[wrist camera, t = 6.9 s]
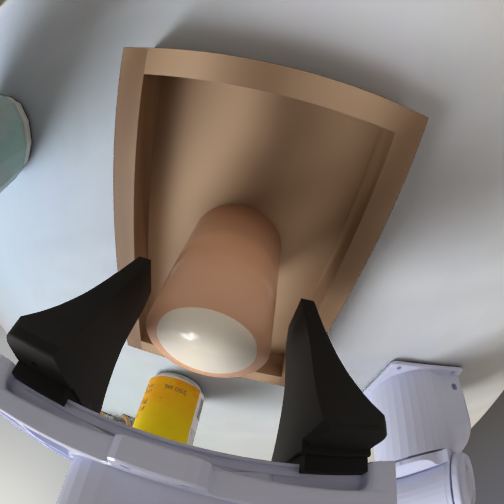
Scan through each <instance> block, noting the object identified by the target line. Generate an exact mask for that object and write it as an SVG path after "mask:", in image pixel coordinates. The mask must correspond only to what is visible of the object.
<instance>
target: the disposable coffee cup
mask: <svg viewBox="0 0 504 504" xmlns="http://www.w3.org/2000/svg"><path fill="white" fill-rule="evenodd" d="M31 143H32V141H31V134H30V127H29V120H28V118H27V116H26V114H25V112H24V110H23V108H22V106H21V104H20V103H19V102H17V101H16V100H14V99H13V98H11V97H9V96H8V97H5V96H3V95H0V192H1V191H2V190H4V189H5V188H6V187H7V186H8V185H9V184H10V183H11V182H12V181H13V180H14V179H15V178H16V177H17V175H18V174H19V173H20V172H21V170H22V169H23V168H24V165H25V164H26V163H27V162H28V160H29V154H30V148H31Z"/></svg>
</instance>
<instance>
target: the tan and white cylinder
mask: <svg viewBox="0 0 504 504" xmlns="http://www.w3.org/2000/svg"><path fill="white" fill-rule="evenodd" d="M280 255H281V239H280V236H279V233H278V231H277V229H276V227H275V226H274V224H273V223H272V222H271V221H270V220H269V218H267V217H266V216H265V215H264V214H262V213H261V212H259V211H257V210H255V209H253V208H250V207H247V206H243V205H236V204H228V205H222V206H218V207H216V208H213V209H211V210H210V211H208V212H207V213H205V214H204V215H203V216H202V217H201V218H200V220H199V221H198V223H197V224H196V226H195V228H194V230H193V231H192V233H191V235H190V237H189V239H188V240H187V242H186V244H185V246H184V247H183V249H182V251H181V253H180V255H179V256H178V258H177V260H176V262H175V264H174V266H173V267H172V269H171V271H170V273H169V275H168V277H167V279H166V280H165V282H164V284H163V286H162V288H161V290H160V292H159V294H158V296H157V298H156V300H155V301H154V303H153V305H152V307H151V309H150V311H149V313H148V315H147V319H146V330H147V333H148V336H149V338H150V340H151V341H152V343H153V344H154V346H155V347H156V348H157V349H158V350H159V351H160V352H161V353H162V354H163V355H164V356H165V357H166V358H168V359H169V360H171V361H172V362H173V363H175V364H177V365H179V366H181V367H183V368H185V369H187V370H189V371H192V372H195V373H198V374H202V375H206V376H211V377H219V378H232V377H240V376H244V375H248V374H251V373H253V372H255V371H257V370H258V369H260V368H261V367H262V366H263V365H264V364H265V363H266V362H267V360H268V358H269V356H270V351H271V342H272V333H273V324H274V315H275V306H276V296H277V286H278V276H279V266H280Z"/></svg>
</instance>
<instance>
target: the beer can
mask: <svg viewBox="0 0 504 504" xmlns="http://www.w3.org/2000/svg"><path fill="white" fill-rule="evenodd" d="M203 402H204V395H203V393H202V392H201V388H200V386H199V385H198V384H197V383H196V382H194V381H193V380H191V379H189V378H187V377H185V376H183V375H180V374H176V373H170V372H164V373H160V374H158V375H157V376H155V377H153V378H151V379H150V381H149V384H148V387H147V389H146V392H145V394H144V397H143V400H142V402H141V405H140V408H139V410H138V413H137V416H136V418H135V421H134V424H133V427H134V428H137V429H140V430H142V431H145V432H148V433H151V434H154V435H157V436H160V437H164V438H167V439H170V440H173V441H177V442H180V443H184V444H188V445H191V446H192V445H193V441H194V437H195V433H196V429H197V425H198V421H199V417H200V413H201V410H202V406H203Z"/></svg>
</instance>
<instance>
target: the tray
mask: <svg viewBox="0 0 504 504" xmlns="http://www.w3.org/2000/svg"><path fill="white" fill-rule="evenodd" d="M427 121H428V117H426V116H423V115H421V114H419V113H417V112H415V111H413V110H411V109H409V108H406V107H404V106H402V105H400V104H397V103H395V102H393V101H390V100H388V99H385V98H383V97H380V96H378V95H375V94H373V93H370V92H368V91H365V90H362V89H359V88H357V87H354V86H351V85H348V84H345V83H342V82H339V81H336V80H333V79H330V78H326V77H323V76H320V75H316V74H313V73H309V72H306V71H302V70H298V69H294V68H290V67H286V66H282V65H278V64H273V63H269V62H264V61H259V60H254V59H249V58H243V57H237V56H231V55H224V54H217V53H210V52H201V51H192V50H180V49H166V48H135V47H124V49H123V56H122V63H121V70H120V78H119V86H118V96H117V107H116V119H115V136H114V166H113V195H114V226H115V243H116V256H117V268H118V271H120V270H121V269H123V268H124V267H125V266H127V265H128V264H129V263H131V262H132V261H134V260H135V259H136V258H138V257H139V256H140V257H144V258H147V259H151V293H150V295H149V298H148V300H147V303H146V305H145V307H144V309H143V311H142V313H141V315H140V316H139V318H138V320H137V322H136V323H135V325H134V327H133V329H132V331H131V332H130V334H129V336H128V338H127V342H128V345H129V346H132V347H135V348H138V349H141V350H144V351H147V352H150V353H153V354H156V355H160V356H163V357H165V356H164V355H163V354H162V353H161V352H160V351H159V350H158V349H157V348H156V347H155V346H154V344H153V343H152V341H151V340H150V338H149V336H148V333H147V330H146V319H147V315H148V313H149V311H150V309H151V307H152V305H153V303H154V301H155V300H156V298H157V296H158V294H159V292H160V290H161V288H162V286H163V284H164V282H165V280H166V279H167V277H168V275H169V273H170V271H171V269H172V267H173V266H174V264H175V262H176V260H177V258H178V256H179V255H180V253H181V251H182V249H183V247H184V246H185V244H186V242H187V240H188V239H189V237H190V235H191V233H192V231H193V230H194V228H195V226H196V224H197V223H198V221H199V220H200V218H201V217H202V216H203V215H204V214H205V213H207V212H208V211H210V210H211V209H213V208H216V207H218V206H222V205H228V204H236V205H243V206H247V207H250V208H253V209H255V210H257V211H259V212H261V213H262V214H264V215H265V216H266V217H267V218H269V220H270V221H271V222H272V223H273V224H274V226H275V227H276V229H277V231H278V233H279V236H280V239H281V255H280V266H279V276H278V286H277V296H276V306H275V315H274V324H273V333H272V342H271V351H270V356H269V358H268V360H267V362H266V363H265V364H264V365H263V366H262V367H261V368H260V369H258V370H257V371H255V372H253V373H251V374H248V375H244V376H240V377H242V378H246V379H251V380H256V381H261V382H266V383H271V384H276V385H282V386H285V359H286V340H287V333H288V326H289V324H290V322H291V320H292V318H293V316H294V313H295V311H296V309H297V307H298V305H299V302H300V300H301V298H303V299H307V300H311V301H314V302H315V304H316V307H317V310H318V313H319V315H320V318H321V321H322V323H323V326H324V328H325V330H326V333H327V332H328V330H329V329H330V327H331V325H332V324H333V322H334V320H335V318H336V317H337V315H338V313H339V312H340V310H341V308H342V306H343V305H344V303H345V301H346V299H347V298H348V296H349V294H350V292H351V290H352V289H353V287H354V285H355V283H356V281H357V279H358V277H359V276H360V274H361V272H362V270H363V268H364V266H365V264H366V262H367V260H368V258H369V256H370V254H371V252H372V250H373V248H374V246H375V244H376V242H377V240H378V238H379V236H380V234H381V232H382V230H383V228H384V226H385V224H386V222H387V219H388V217H389V215H390V213H391V211H392V208H393V206H394V204H395V202H396V200H397V197H398V195H399V193H400V190H401V188H402V186H403V183H404V181H405V179H406V176H407V174H408V171H409V169H410V166H411V164H412V161H413V159H414V156H415V154H416V151H417V148H418V146H419V143H420V140H421V138H422V135H423V132H424V129H425V126H426V124H427Z"/></svg>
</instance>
